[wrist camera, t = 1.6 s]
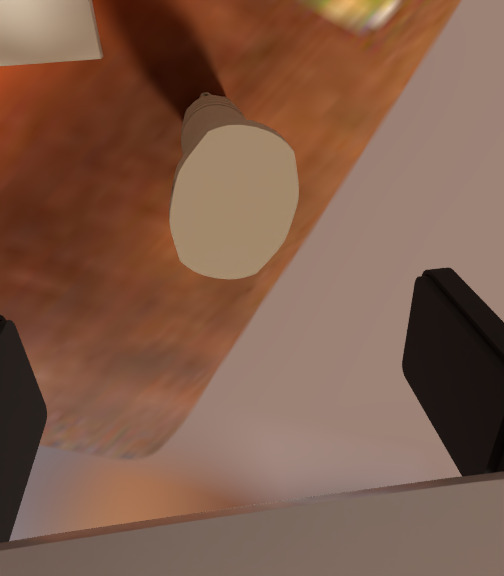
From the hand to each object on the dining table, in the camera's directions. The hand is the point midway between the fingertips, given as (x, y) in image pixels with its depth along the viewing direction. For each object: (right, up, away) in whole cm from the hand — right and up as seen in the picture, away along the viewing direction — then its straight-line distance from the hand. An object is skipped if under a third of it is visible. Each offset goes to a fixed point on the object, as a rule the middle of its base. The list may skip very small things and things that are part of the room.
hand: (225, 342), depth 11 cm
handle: (-2, +13, +20) cm, 24 cm away
